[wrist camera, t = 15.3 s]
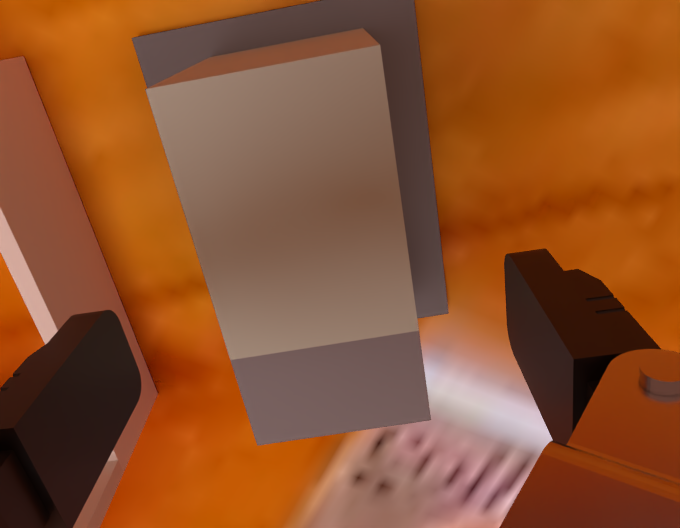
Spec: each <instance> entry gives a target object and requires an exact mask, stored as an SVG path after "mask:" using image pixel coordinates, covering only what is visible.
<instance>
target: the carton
mask: <svg viewBox="0 0 680 528" xmlns="http://www.w3.org/2000/svg"><path fill="white" fill-rule="evenodd" d="M0 252H1V254H2V256H3V258H4V260H5V262H6V264H7V266H8V268H9V271H10V273H11V275H12V277H13V279H14V281H15V283H16V285H17V287H18V289H19V291H20V293H21V295H22V297H23V300H24V302H25V304H26V306H27V308H28V310H29V312H30V314H31V316H32V318H33V320H34V322H35V324H36V326H37V328H38V331H39V333H40V335H41V337H42V339H43V341H44V343H45V345H46V344H47V343H48V342H49V341H50V339H51V338H52V337H53V336H54V335H55V334H56V333H57V331H58V330H59V329H60V328H61V327H62V326H63V324H64V323H65V322H66V321H67V320H68V319H69V318H70V317H71V316H72V315H75V314H82V313H89V312H96V311H103V310H111V311H113V312H114V313H115V314H116V315H117V316H118V318H119V320H120V323H121V325H122V328H123V330H124V333H125V335H126V338H127V341H128V343H129V346H130V348H131V351H132V353H133V356H134V358H135V361H136V364H137V366H138V369H139V372H140V376H141V394H140V398H139V401H138V403H137V405H136V407H135V409H134V411H133V413H132V415H131V416H130V418H129V420H128V422H127V424H126V426H125V428H124V430H123V432H122V434H121V436H120V438H119V440H118V441H117V443H116V445H115V447H114V449H113V451H112V453H111V455H110V457H109V459H108V461H107V463H106V465H105V467H104V468H103V470H102V472H101V474H100V476H99V478H98V480H97V482H96V484H95V486H94V488H93V490H92V492H91V494H90V495H89V497H88V499H87V501H86V503H85V505H84V507H83V509H82V511H81V513H80V515H79V517H78V519H77V521H76V522H75V524H74V526H73V528H100V525H101V523H102V521H103V519H104V516H105V514H106V512H107V509H108V507H109V505H110V503H111V500H112V498H113V496H114V493H115V491H116V489H117V487H118V484H119V482H120V480H121V477H122V475H123V473H124V470H125V468H126V466H127V464H128V461H129V459H130V457H131V454H132V452H133V450H134V448H135V445H136V443H137V441H138V438H139V436H140V434H141V432H142V429H143V427H144V425H145V422H146V420H147V418H148V416H149V413H150V411H151V409H152V406H153V404H154V402H155V399H156V397H157V395H158V393H157V390H156V388H155V385H154V383H153V380H152V378H151V375H150V373H149V370H148V368H147V365H146V362H145V360H144V357H143V355H142V352H141V350H140V347H139V345H138V342H137V340H136V337H135V335H134V332H133V330H132V327H131V325H130V322H129V320H128V317H127V315H126V312H125V310H124V307H123V305H122V302H121V300H120V297H119V295H118V292H117V290H116V287H115V285H114V282H113V280H112V277H111V275H110V272H109V270H108V267H107V265H106V262H105V259H104V257H103V254H102V252H101V249H100V247H99V244H98V242H97V239H96V237H95V234H94V232H93V229H92V227H91V224H90V222H89V219H88V217H87V214H86V212H85V209H84V207H83V204H82V202H81V199H80V197H79V194H78V192H77V189H76V187H75V184H74V182H73V179H72V177H71V174H70V172H69V169H68V167H67V164H66V161H65V159H64V156H63V154H62V151H61V149H60V146H59V144H58V141H57V139H56V136H55V134H54V131H53V129H52V126H51V124H50V121H49V119H48V116H47V114H46V111H45V109H44V106H43V104H42V101H41V99H40V96H39V94H38V91H37V89H36V86H35V84H34V81H33V79H32V76H31V74H30V71H29V69H28V66H27V63H26V61H25V58H24V56H21V57H16V58H11V59H5V60H0Z"/></svg>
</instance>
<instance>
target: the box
mask: <svg viewBox="0 0 680 528" xmlns="http://www.w3.org/2000/svg"><path fill="white" fill-rule="evenodd" d="M145 90H146V93H147V96H148V99H149V103H150V106H151V109H152V112H153V115H154V118H155V122H156V125H157V128H158V131H159V134H160V137H161V141H162V144H163V147H164V150H165V153H166V157H167V160H168V163H169V166H170V169H171V172H172V176H173V179H174V182H175V185H176V188H177V192H178V195H179V198H180V201H181V204H182V207H183V211H184V214H185V217H186V220H187V223H188V226H189V230H190V233H191V236H192V239H193V242H194V246H195V249H196V252H197V255H198V258H199V261H200V265H201V268H202V271H203V274H204V277H205V280H206V284H207V287H208V290H209V293H210V296H211V300H212V303H213V306H214V309H215V312H216V315H217V319H218V322H219V325H220V328H221V331H222V334H223V338H224V341H225V344H226V347H227V350H228V354H229V357H230V360H231V363H232V366H233V369H234V373H235V376H236V379H237V382H238V385H239V388H240V392H241V395H242V398H243V401H244V404H245V408H246V411H247V414H248V417H249V420H250V423H251V427H252V430H253V433H254V436H255V439H256V442H257V445H264V444H271V443H278V442H284V441H291V440H298V439H305V438H312V437H319V436H325V435H332V434H339V433H346V432H353V431H360V430H366V429H373V428H380V427H387V426H394V425H401V424H408V423H414V422H421V421H428V420H431V417H430V409H429V402H428V394H427V387H426V380H425V372H424V365H423V357H422V350H421V343H420V335H419V328H418V321H417V313H416V306H415V298H414V291H413V284H412V276H411V269H410V262H409V254H408V247H407V239H406V232H405V225H404V217H403V210H402V203H401V195H400V188H399V180H398V173H397V166H396V158H395V151H394V144H393V136H392V129H391V121H390V114H389V107H388V99H387V92H386V84H385V77H384V70H383V62H382V55H381V48H380V44H379V43H378V42H377V41H376V40H375V39H374V38H373V37H372V36H371V35H370V34H368V33H367V32H366V31H365V30H364V29H363V28H360V29H355V30H349V31H344V32H339V33H334V34H328V35H323V36H318V37H313V38H307V39H302V40H297V41H292V42H286V43H281V44H276V45H271V46H266V47H260V48H255V49H250V50H245V51H239V52H234V53H229V54H224V55H218V56H213V57H209V58H207V59H205V60H203V61H201V62H199V63H197V64H195V65H193V66H191V67H189V68H187V69H185V70H183V71H181V72H179V73H177V74H175V75H173V76H171V77H169V78H167V79H165V80H163V81H161V82H159V83H157V84H155V85H153V86H151V87H149V88H147V89H145Z"/></svg>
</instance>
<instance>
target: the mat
mask: <svg viewBox="0 0 680 528" xmlns="http://www.w3.org/2000/svg"><path fill="white" fill-rule="evenodd" d="M360 28H363V29H364V30H365V31H366V32H367V33H368V34H370V35H371V36H372V37H373V38H374V39H375V40H376V41H377V42H378V43H379V44H380V48H381V55H382V62H383V70H384V77H385V84H386V92H387V99H388V107H389V114H390V121H391V129H392V136H393V144H394V151H395V158H396V166H397V173H398V180H399V188H400V195H401V203H402V210H403V217H404V225H405V232H406V239H407V247H408V254H409V262H410V269H411V276H412V284H413V291H414V298H415V306H416V313H417V318H423V317H429V316H436V315H442V314H448V304H447V295H446V286H445V277H444V267H443V258H442V249H441V240H440V231H439V222H438V213H437V204H436V195H435V185H434V176H433V167H432V158H431V149H430V140H429V131H428V122H427V113H426V104H425V94H424V85H423V76H422V67H421V58H420V49H419V40H418V31H417V22H416V12H415V3H414V0H321V1H316V2H311V3H306V4H301V5H296V6H291V7H286V8H281V9H276V10H271V11H266V12H261V13H256V14H250V15H245V16H240V17H235V18H230V19H225V20H220V21H215V22H210V23H205V24H200V25H195V26H190V27H185V28H180V29H175V30H170V31H165V32H160V33H154V34H149V35H144V36H139V37H134V38H132V41H133V44H134V47H135V50H136V53H137V56H138V60H139V63H140V66H141V69H142V72H143V75H144V79H145V82H146V85H147V88H149V87H151V86H153V85H155V84H157V83H159V82H161V81H163V80H165V79H167V78H169V77H171V76H173V75H175V74H177V73H179V72H181V71H183V70H185V69H187V68H189V67H191V66H193V65H195V64H197V63H199V62H201V61H203V60H205V59H207V58H209V57H213V56H218V55H224V54H229V53H234V52H239V51H245V50H250V49H255V48H260V47H266V46H271V45H276V44H281V43H286V42H292V41H297V40H302V39H307V38H313V37H318V36H323V35H328V34H334V33H339V32H344V31H349V30H355V29H360Z"/></svg>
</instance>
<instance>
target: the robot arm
mask: <svg viewBox="0 0 680 528" xmlns="http://www.w3.org/2000/svg"><path fill="white" fill-rule="evenodd" d="M504 269H505V291H506V313H507V328H508V335H509V340H510V344H511V348H512V351H513V354H514V356H515V358H516V360H517V363H518V365H519V367H520V369H521V371H522V374H523V376H524V378H525V380H526V382H527V385H528V387H529V389H530V391H531V393H532V395H533V398H534V400H535V402H536V404H537V406H538V409H539V411H540V413H541V415H542V417H543V419H544V422H545V424H546V426H547V428H548V430H549V433H550V435H551V437H552V439H553V441H551V442H550V443H548V444H547V446H546V447H545V448H544V450H543V451H542V453H541V455H540V456H539V458H538V460H537V462H536V464H535V465H534V467H533V469H532V471H531V472H530V474H529V476H528V478H527V480H526V481H525V483H524V485H523V487H522V488H521V490H520V492H519V494H518V496H517V497H516V499H515V501H514V503H513V504H512V506H511V508H510V510H509V512H508V513H507V515H506V517H505V519H504V520H503V522H502V524H501V526H500V528H680V353H678V352H674V351H669V350H662V349H661V348H660V347H659V346H658V345H657V344H656V343H655V342H654V340H653V339H652V338H651V337H650V336H649V335H648V334H647V333H646V331H645V330H644V329H643V328H642V327H641V326H640V325H639V323H638V322H637V321H636V320H635V319H634V318H633V317H632V315H631V314H630V313H629V312H628V311H625V309H624V306H623V305H622V304H621V303H620V302H619V301H618V300H617V298H614V296H613V294H612V293H611V292H610V291H609V289H608V288H607V287H606V286H605V285H604V284H603V283H602V281H601V280H599V279H597V278H595V277H593V276H591V275H589V274H587V273H585V272H583V271H581V270H579V269H575V270H568V271H563V269H562V268H561V267H560V266H559V264H558V263H557V262H556V260H555V259H554V258H553V257H552V255H551V254H550V253H549V251H548V250H547V249H538V250H531V251H524V252H517V253H510V254H506V256H505V262H504ZM0 389H1V391H0V528H73V526H74V524H75V522H76V521H77V519H78V517H79V515H80V513H81V511H82V509H83V507H84V505H85V503H86V501H87V499H88V497H89V495H90V494H91V492H92V490H93V488H94V486H95V484H96V482H97V480H98V478H99V476H100V474H101V472H102V470H103V468H104V467H105V465H106V463H107V461H108V459H109V457H110V455H111V453H112V451H113V449H114V447H115V445H116V443H117V441H118V440H119V438H120V436H121V434H122V432H123V430H124V428H125V426H126V424H127V422H128V420H129V418H130V416H131V415H132V413H133V411H134V409H135V407H136V405H137V403H138V401H139V398H140V394H141V376H140V372H139V369H138V366H137V364H136V361H135V358H134V356H133V353H132V351H131V348H130V346H129V343H128V341H127V338H126V335H125V333H124V330H123V328H122V325H121V323H120V320H119V318H118V316H117V315H116V314H115V313H114V312H113V311H111V310H103V311H96V312H89V313H82V314H75V315H72V316H71V317H70V318H69V319H68V320H67V321H66V322H65V323H64V324H63V326H62V327H61V328H60V329H59V330H58V331H57V333H56V334H55V335H54V336H53V337H52V338H51V339H50V341H49V342H48V343H47V344H46V345H44V346H43V347H41V348H40V349H39V350H37V351H36V352H34V353H33V354H32V355H30V356H29V357H28V358H27V359H26V360H25V361H24V362H23V363H22V364H21V365H20V367H19V368H18V369H17V370H16V371H15V372H14V373H13V377H10V378H9V379H8V380H7V381H6V382H5V384H4V385H3V386H2V387H1V388H0Z"/></svg>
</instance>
